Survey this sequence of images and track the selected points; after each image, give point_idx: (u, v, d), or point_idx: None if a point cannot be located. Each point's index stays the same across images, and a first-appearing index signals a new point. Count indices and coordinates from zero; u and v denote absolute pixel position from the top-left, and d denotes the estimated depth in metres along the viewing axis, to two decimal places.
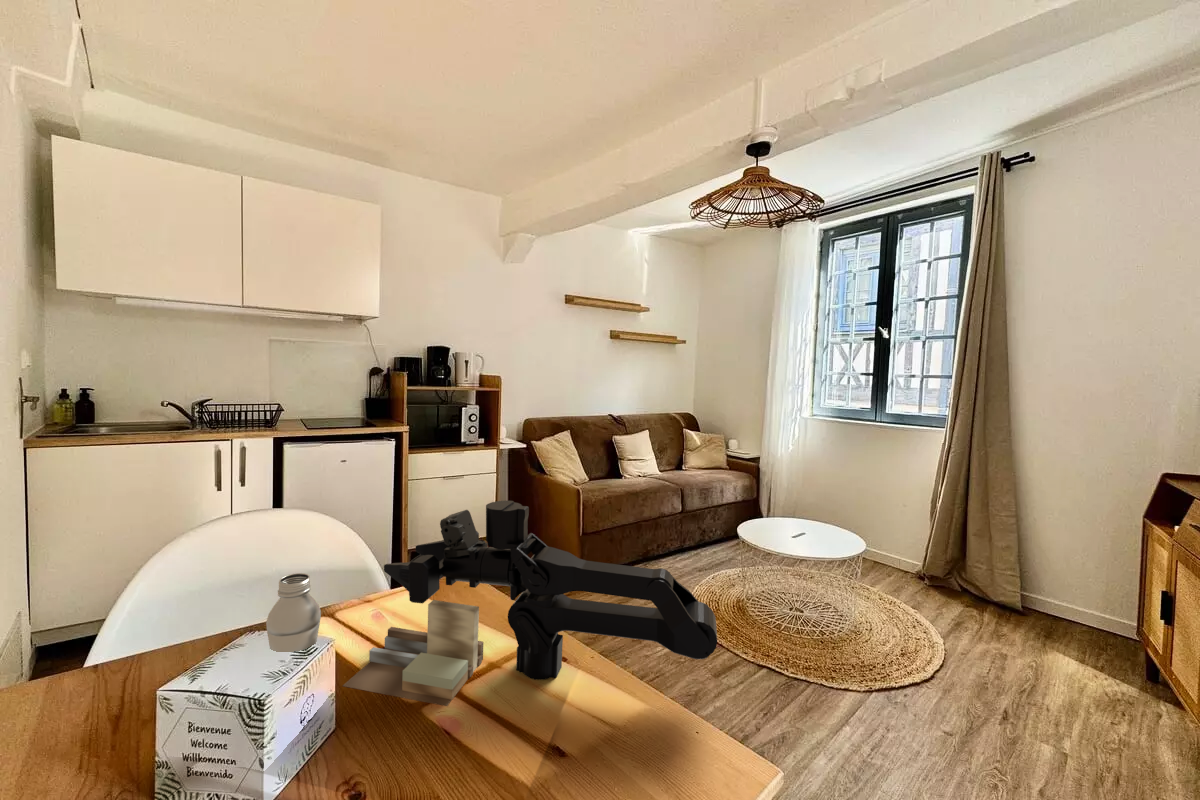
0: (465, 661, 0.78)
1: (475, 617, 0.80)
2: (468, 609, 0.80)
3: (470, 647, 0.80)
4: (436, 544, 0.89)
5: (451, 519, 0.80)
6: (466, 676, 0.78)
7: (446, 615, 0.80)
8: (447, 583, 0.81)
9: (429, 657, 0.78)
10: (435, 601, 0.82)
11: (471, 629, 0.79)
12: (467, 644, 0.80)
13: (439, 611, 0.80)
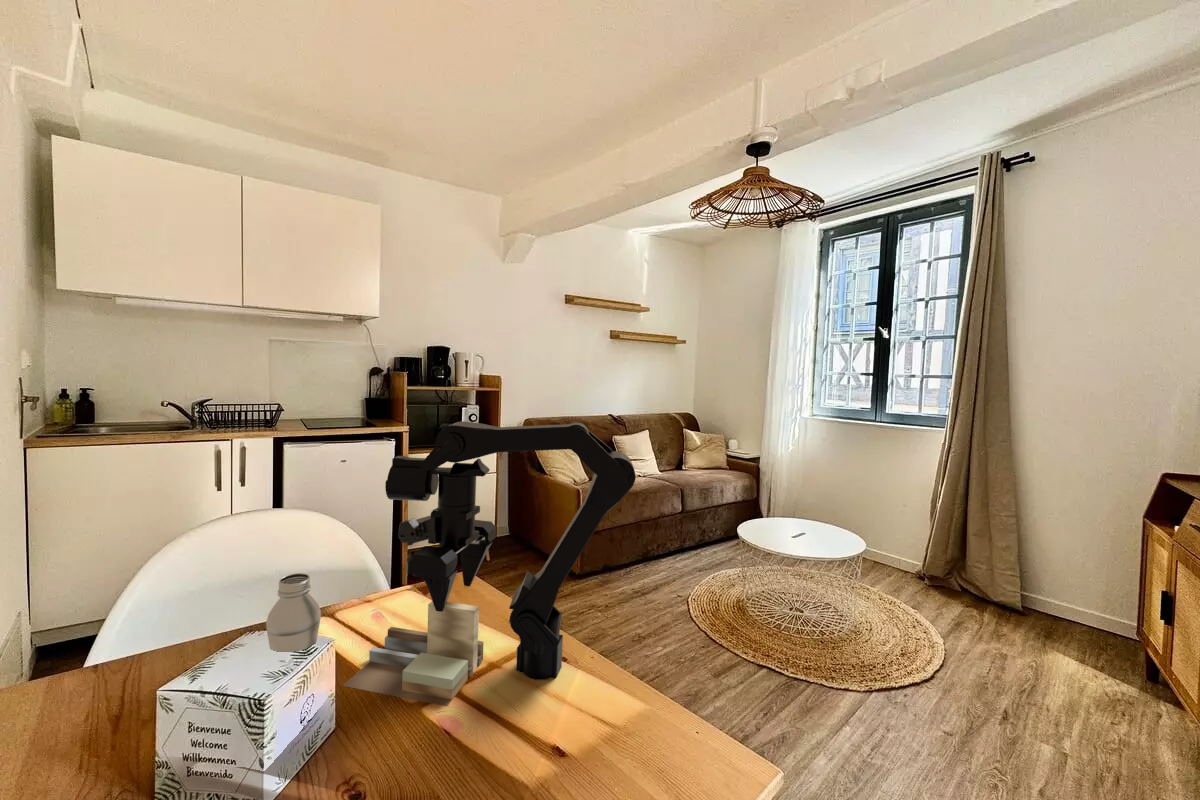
0: (465, 661, 0.78)
1: (475, 617, 0.80)
2: (468, 609, 0.80)
3: (470, 647, 0.80)
4: (463, 562, 0.85)
5: None
6: (466, 676, 0.78)
7: (446, 615, 0.80)
8: (464, 544, 0.77)
9: (429, 657, 0.78)
10: None
11: (471, 629, 0.79)
12: (467, 644, 0.80)
13: None
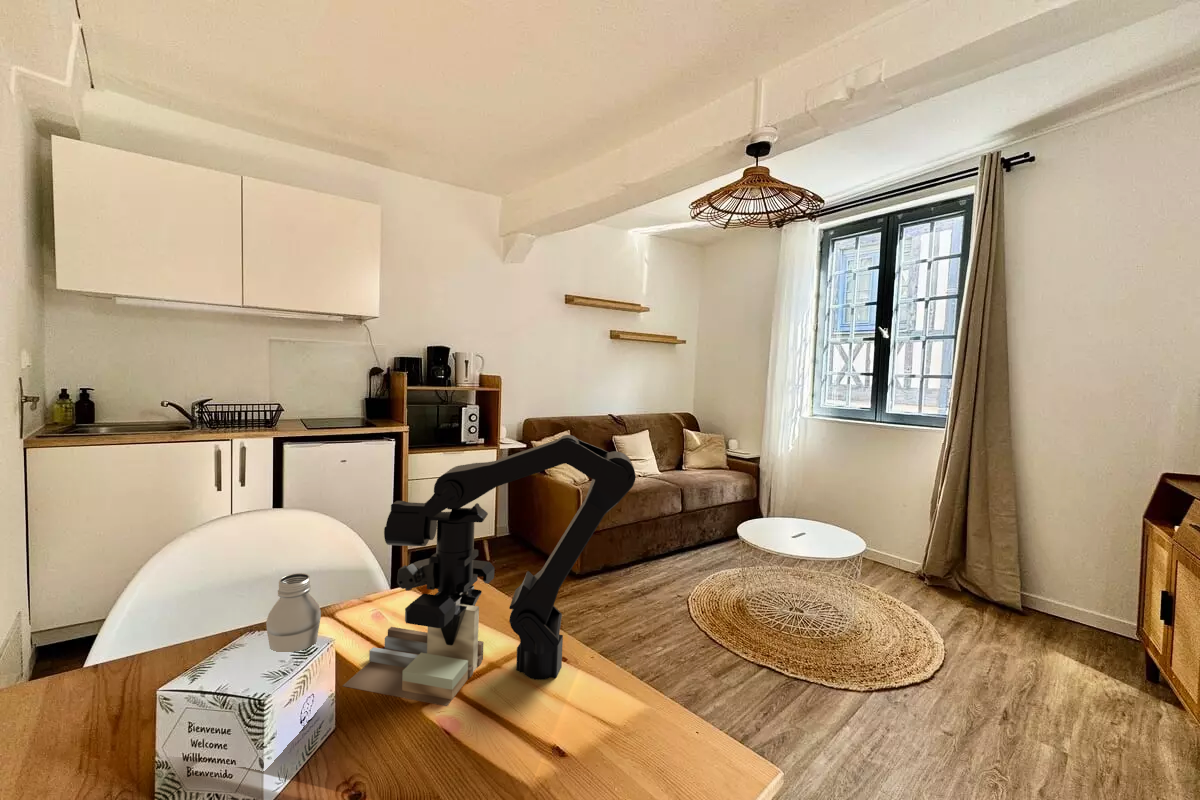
0: (465, 661, 0.78)
1: (475, 617, 0.80)
2: (468, 609, 0.80)
3: (470, 647, 0.80)
4: None
5: None
6: (466, 676, 0.78)
7: None
8: (462, 590, 0.78)
9: (429, 657, 0.78)
10: None
11: (471, 629, 0.79)
12: (467, 644, 0.80)
13: None
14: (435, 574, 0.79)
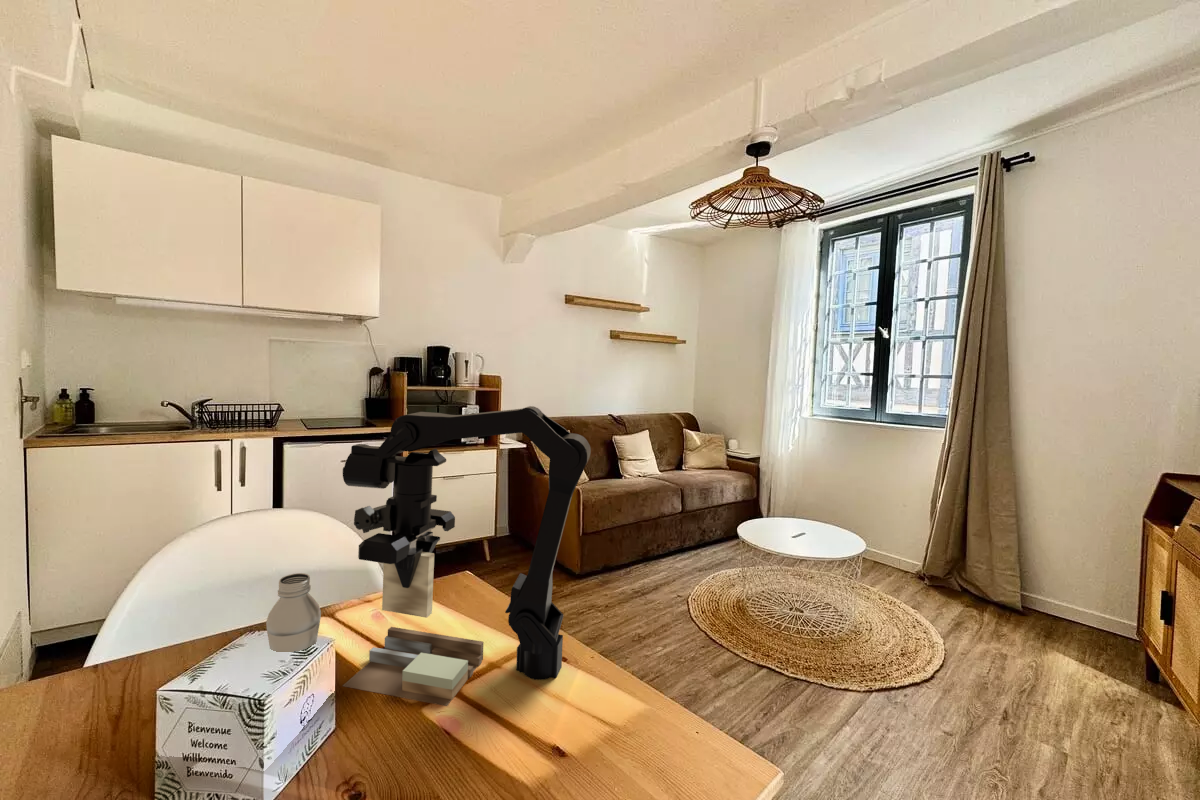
0: (465, 661, 0.78)
1: (430, 563, 0.81)
2: (423, 555, 0.81)
3: (424, 592, 0.81)
4: None
5: None
6: (466, 676, 0.78)
7: None
8: (418, 532, 0.79)
9: (429, 657, 0.78)
10: None
11: (426, 575, 0.81)
12: (421, 590, 0.81)
13: None
14: (392, 516, 0.80)
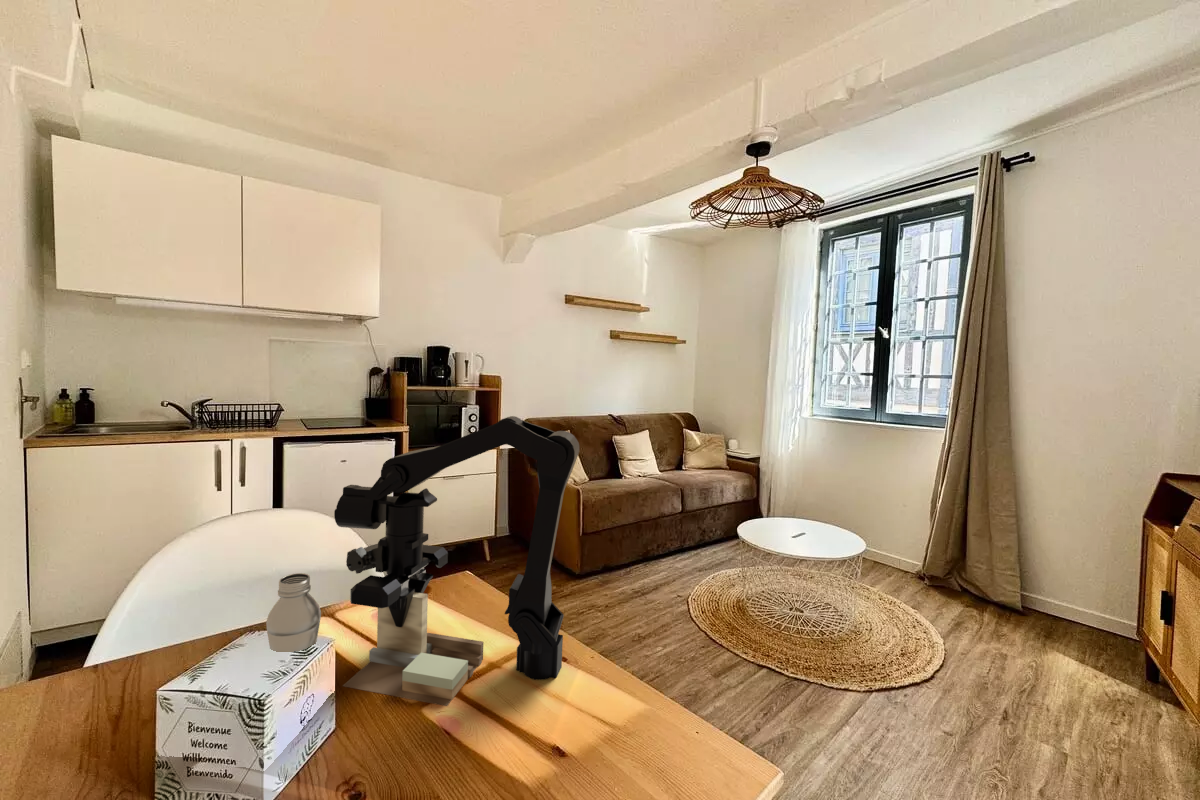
0: (465, 661, 0.78)
1: (423, 604, 0.81)
2: (416, 596, 0.81)
3: (418, 633, 0.81)
4: None
5: None
6: (466, 676, 0.78)
7: None
8: (410, 573, 0.79)
9: (429, 657, 0.78)
10: None
11: (419, 616, 0.81)
12: (415, 631, 0.81)
13: None
14: (384, 557, 0.80)
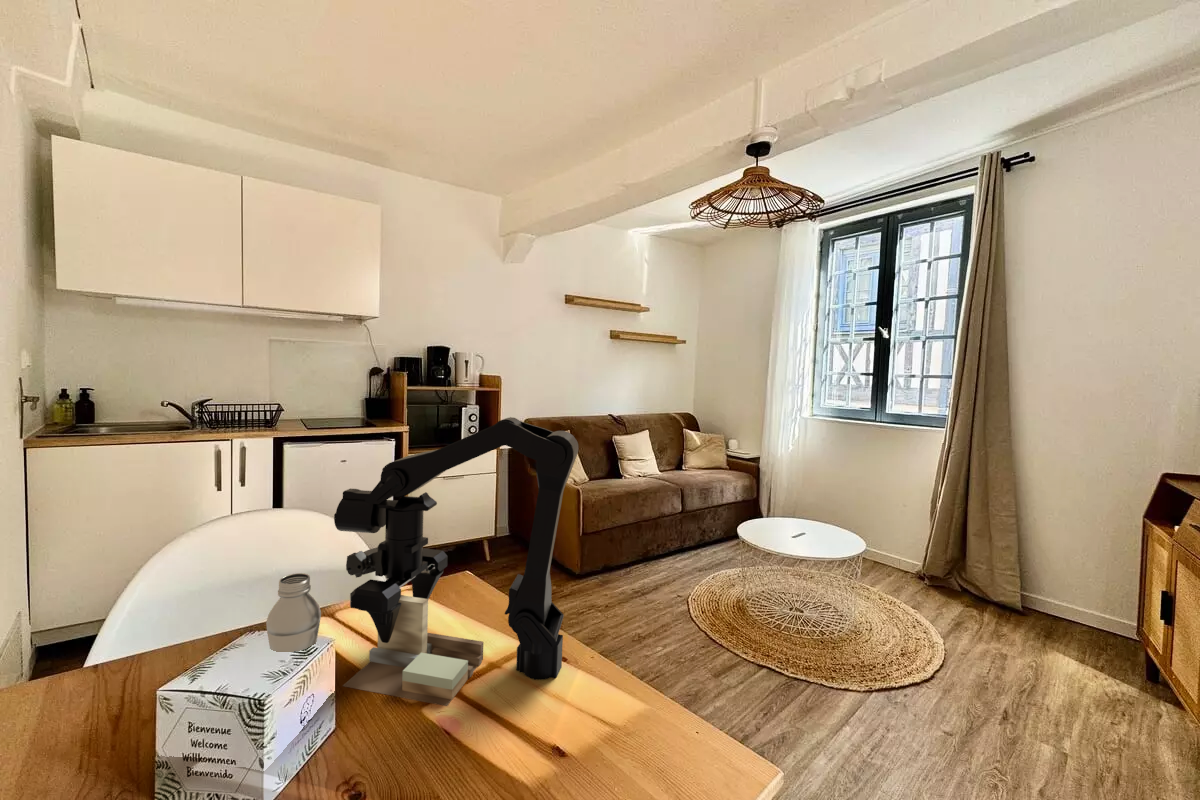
0: (465, 661, 0.78)
1: (424, 610, 0.81)
2: (417, 601, 0.81)
3: (419, 639, 0.81)
4: (413, 591, 0.87)
5: None
6: (466, 676, 0.78)
7: None
8: (409, 577, 0.79)
9: (429, 657, 0.78)
10: None
11: (420, 621, 0.81)
12: (416, 636, 0.81)
13: None
14: (384, 561, 0.80)
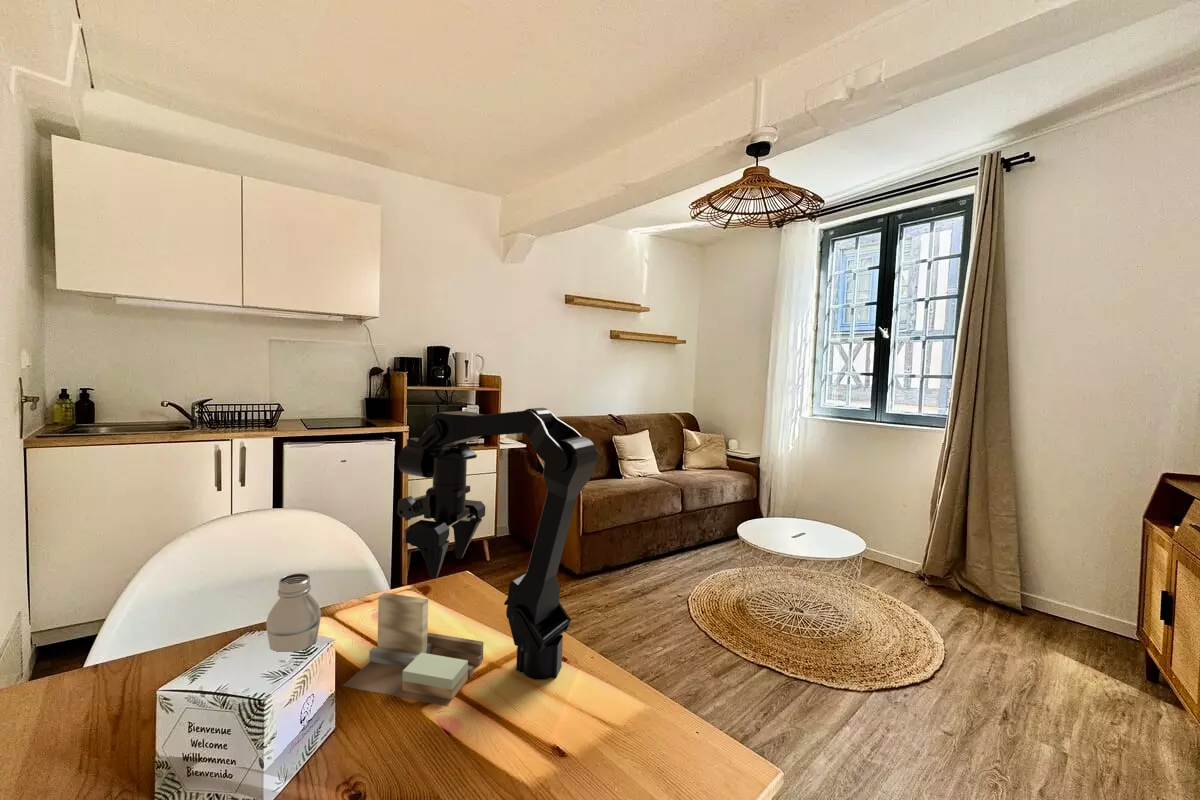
0: (465, 661, 0.78)
1: (424, 610, 0.81)
2: (417, 601, 0.81)
3: (419, 639, 0.81)
4: (455, 537, 0.95)
5: None
6: (466, 676, 0.78)
7: (396, 607, 0.82)
8: (455, 519, 0.87)
9: (429, 657, 0.78)
10: (385, 594, 0.83)
11: (420, 621, 0.81)
12: (416, 636, 0.81)
13: (389, 603, 0.82)
14: (431, 505, 0.88)
